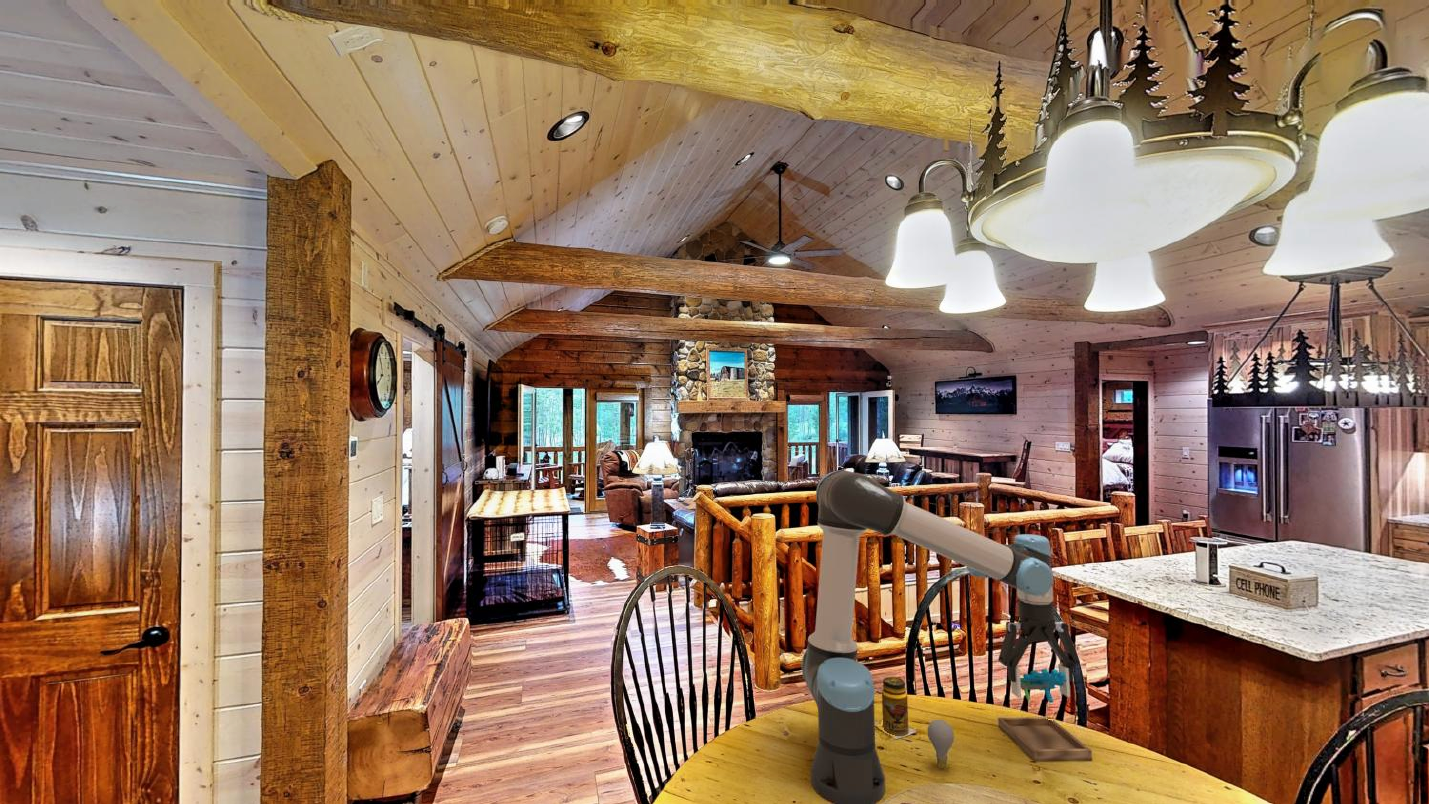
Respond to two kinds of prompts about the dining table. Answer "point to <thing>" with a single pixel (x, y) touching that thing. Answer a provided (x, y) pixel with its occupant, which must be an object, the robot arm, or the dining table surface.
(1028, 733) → the tray
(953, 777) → the dining table surface
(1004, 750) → the dining table surface
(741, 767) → the dining table surface
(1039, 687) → the blue and green toy
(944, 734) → the light bulb
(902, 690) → the condiment
